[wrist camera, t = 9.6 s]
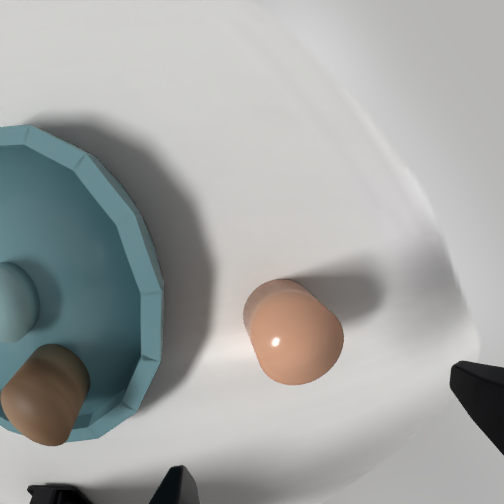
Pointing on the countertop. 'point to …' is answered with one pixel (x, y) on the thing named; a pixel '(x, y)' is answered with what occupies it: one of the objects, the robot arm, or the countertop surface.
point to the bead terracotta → (292, 332)
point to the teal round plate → (76, 275)
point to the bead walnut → (46, 394)
